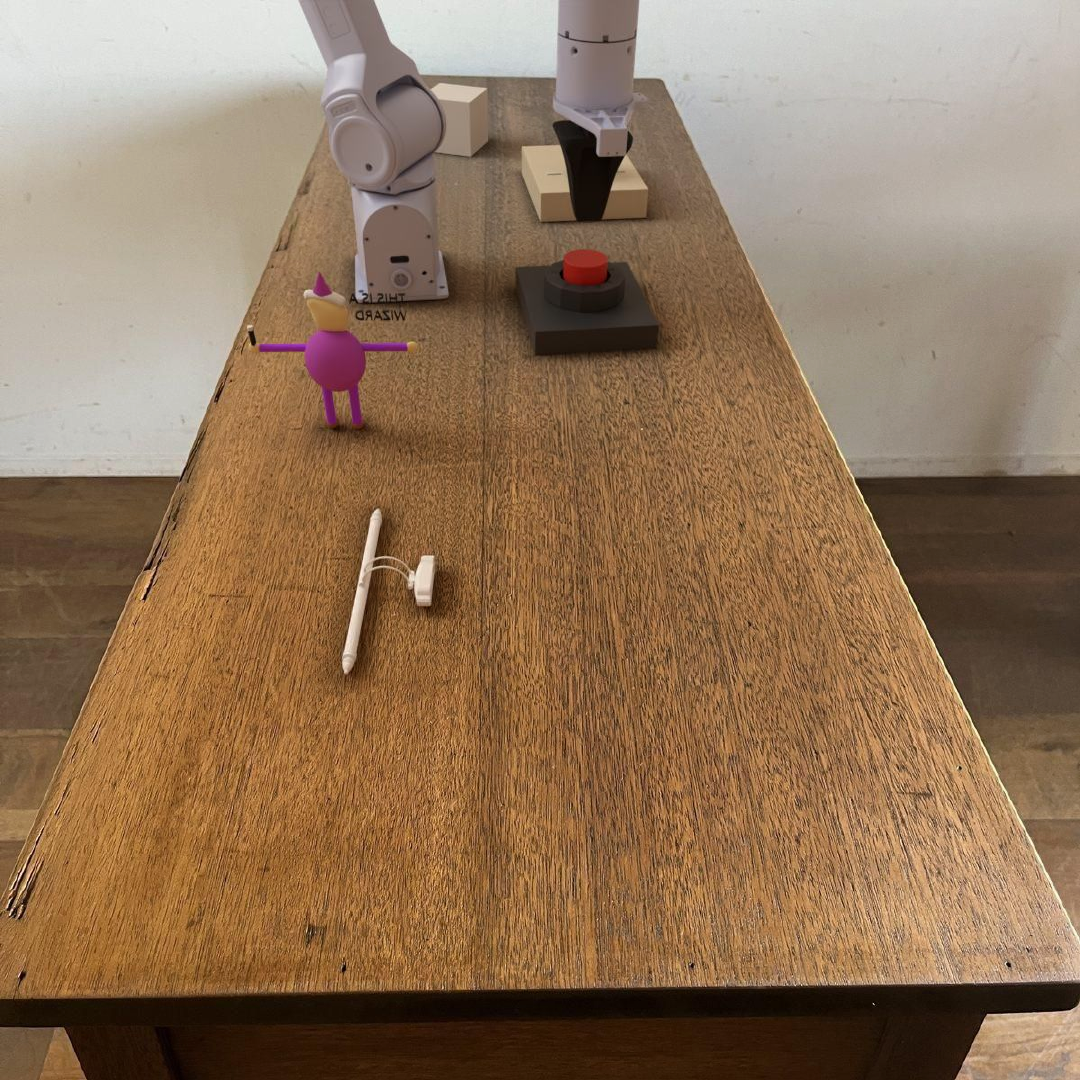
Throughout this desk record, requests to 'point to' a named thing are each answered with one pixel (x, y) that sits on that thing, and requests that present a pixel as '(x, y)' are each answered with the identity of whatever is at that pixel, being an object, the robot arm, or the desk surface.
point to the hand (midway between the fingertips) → (587, 218)
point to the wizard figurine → (336, 347)
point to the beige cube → (463, 118)
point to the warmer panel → (552, 187)
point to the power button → (585, 267)
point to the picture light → (420, 582)
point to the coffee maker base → (584, 311)
